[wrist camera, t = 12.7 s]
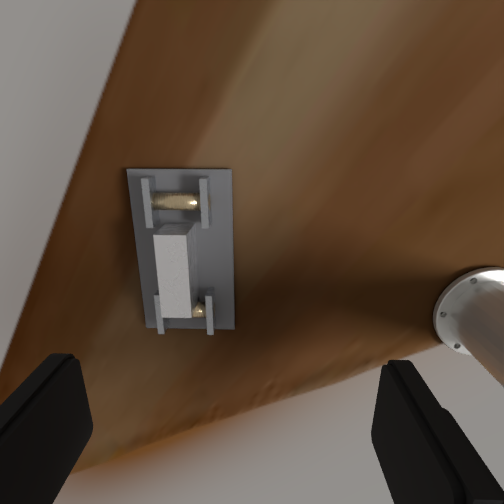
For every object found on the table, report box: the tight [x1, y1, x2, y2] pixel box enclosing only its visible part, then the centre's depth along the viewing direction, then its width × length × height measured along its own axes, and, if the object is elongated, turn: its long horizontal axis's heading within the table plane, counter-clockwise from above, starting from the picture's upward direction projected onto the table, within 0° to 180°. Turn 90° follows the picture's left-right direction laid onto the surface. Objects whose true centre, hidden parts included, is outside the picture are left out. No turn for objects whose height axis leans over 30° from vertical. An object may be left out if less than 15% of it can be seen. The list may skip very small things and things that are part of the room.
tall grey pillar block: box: [153, 223, 199, 318], centre depth 38 cm, size 4×10×5 cm, turn 0°
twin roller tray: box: [141, 176, 216, 335], centre depth 39 cm, size 7×20×2 cm, turn 0°
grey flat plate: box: [127, 169, 235, 329], centre depth 41 cm, size 12×21×1 cm, turn 0°
